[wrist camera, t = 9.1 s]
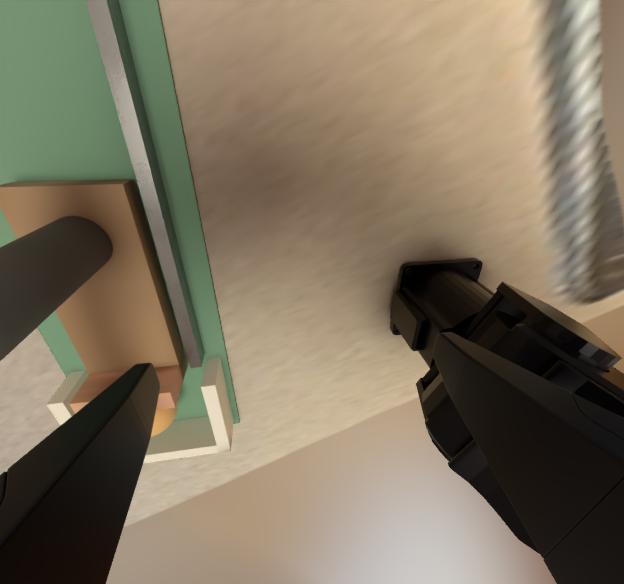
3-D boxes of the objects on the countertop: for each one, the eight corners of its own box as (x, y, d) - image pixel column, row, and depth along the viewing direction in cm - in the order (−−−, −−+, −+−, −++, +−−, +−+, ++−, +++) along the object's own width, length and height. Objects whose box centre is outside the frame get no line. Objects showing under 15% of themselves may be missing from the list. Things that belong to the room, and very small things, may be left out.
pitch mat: (142, -77, 12) (140, -81, 12) (239, 421, 28) (239, 422, 28) (-214, -107, 11) (-222, -111, 10) (104, 438, 27) (103, 440, 26)
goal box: (220, 356, 24) (215, 385, 21) (233, 420, 28) (230, 450, 25) (71, 371, 22) (46, 404, 20) (107, 436, 26) (91, 470, 24)
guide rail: (93, -104, 11) (72, -132, 10) (204, 353, 23) (201, 366, 22) (70, -105, 11) (47, -134, 10) (194, 354, 23) (190, 368, 22)
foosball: (184, 431, 24) (185, 380, 25) (166, 437, 20) (168, 378, 22) (132, 437, 24) (136, 386, 25) (104, 445, 20) (110, 384, 21)
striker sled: (133, 179, 16) (6, 237, 8) (187, 365, 23) (149, 496, 15) (11, 182, 15) (-263, 249, 7) (106, 374, 22) (19, 516, 14)
